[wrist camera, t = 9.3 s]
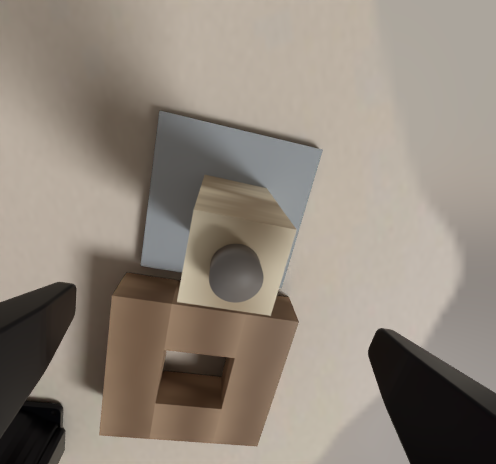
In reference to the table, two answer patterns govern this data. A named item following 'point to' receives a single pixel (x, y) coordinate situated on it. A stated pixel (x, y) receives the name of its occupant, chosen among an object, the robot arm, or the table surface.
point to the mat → (222, 166)
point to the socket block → (184, 384)
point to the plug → (235, 248)
